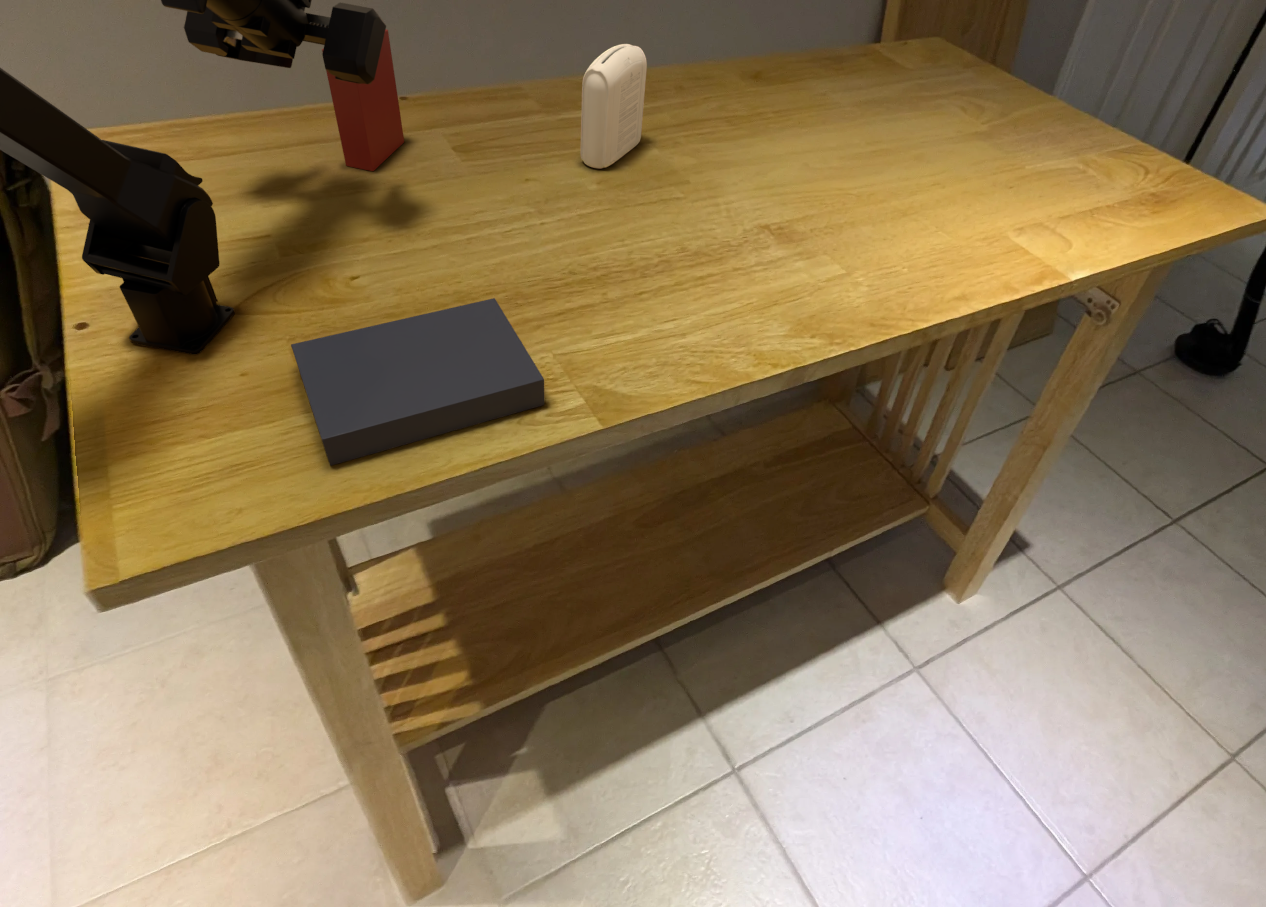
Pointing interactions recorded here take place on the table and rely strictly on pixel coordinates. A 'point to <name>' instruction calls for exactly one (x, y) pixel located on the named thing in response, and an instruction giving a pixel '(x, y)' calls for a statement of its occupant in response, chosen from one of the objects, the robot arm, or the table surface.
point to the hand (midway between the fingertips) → (330, 71)
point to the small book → (368, 114)
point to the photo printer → (612, 105)
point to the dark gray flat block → (416, 379)
